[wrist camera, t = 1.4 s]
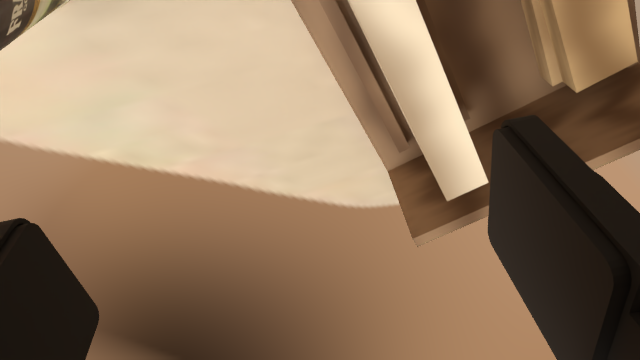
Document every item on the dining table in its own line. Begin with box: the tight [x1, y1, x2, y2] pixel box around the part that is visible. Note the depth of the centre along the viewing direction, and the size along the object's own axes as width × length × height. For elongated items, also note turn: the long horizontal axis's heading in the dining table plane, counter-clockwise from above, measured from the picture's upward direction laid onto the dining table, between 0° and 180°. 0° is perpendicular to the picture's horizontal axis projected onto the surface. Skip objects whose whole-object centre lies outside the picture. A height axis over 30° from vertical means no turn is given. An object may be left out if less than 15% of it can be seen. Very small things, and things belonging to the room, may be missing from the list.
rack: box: [291, 0, 640, 247], centre depth 31 cm, size 22×24×10 cm
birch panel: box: [348, 0, 489, 201], centre depth 31 cm, size 3×16×10 cm, turn 28°
